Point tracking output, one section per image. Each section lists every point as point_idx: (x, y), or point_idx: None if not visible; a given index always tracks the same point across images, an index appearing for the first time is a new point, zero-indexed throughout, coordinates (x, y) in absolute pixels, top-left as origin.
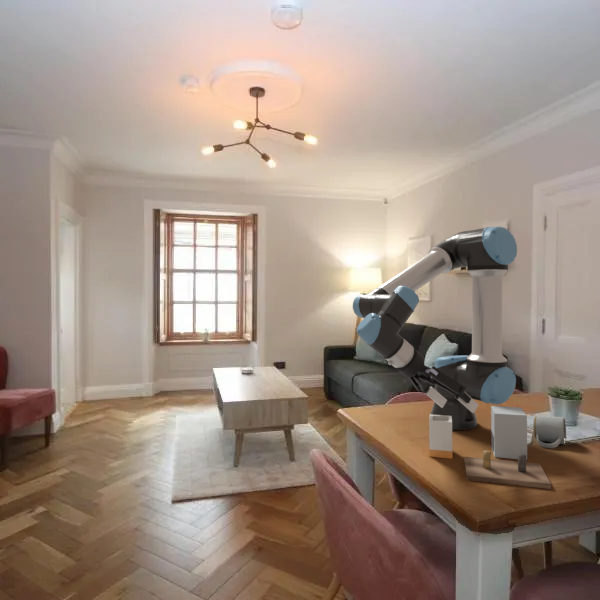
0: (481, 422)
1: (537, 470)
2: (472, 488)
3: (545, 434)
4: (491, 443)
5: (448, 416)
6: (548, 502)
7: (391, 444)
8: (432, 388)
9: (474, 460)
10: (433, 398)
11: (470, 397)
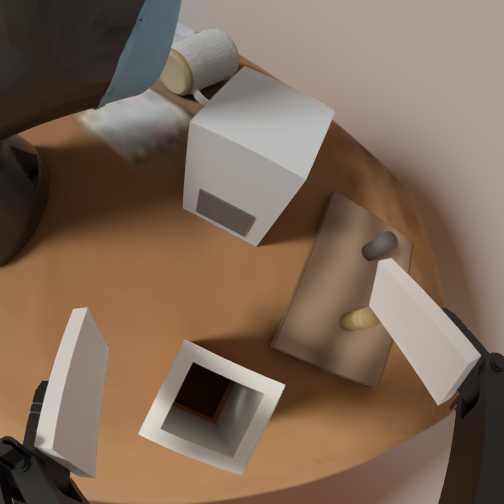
0: (28, 134)
1: (366, 220)
2: (398, 389)
3: (210, 80)
4: (198, 210)
5: (191, 359)
6: (438, 282)
7: (103, 487)
8: (59, 439)
9: (303, 331)
10: (95, 420)
11: (431, 300)
